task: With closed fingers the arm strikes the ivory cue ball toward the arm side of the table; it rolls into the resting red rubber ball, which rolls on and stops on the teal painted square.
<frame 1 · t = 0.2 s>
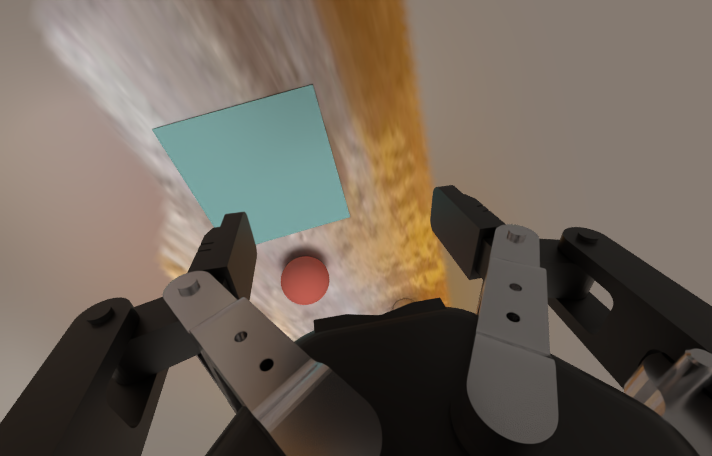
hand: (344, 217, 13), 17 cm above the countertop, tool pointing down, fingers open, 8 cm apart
ball b: (305, 280, 34), on the countertop
mark: (265, 178, 29), on the countertop
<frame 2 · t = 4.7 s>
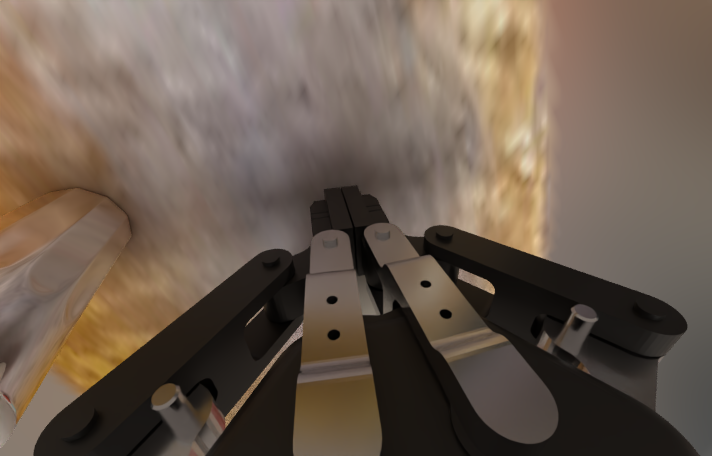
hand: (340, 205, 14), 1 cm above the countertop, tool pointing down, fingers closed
milkshake: (86, 225, 13), on the countertop
ball a: (357, 294, 14), on the countertop
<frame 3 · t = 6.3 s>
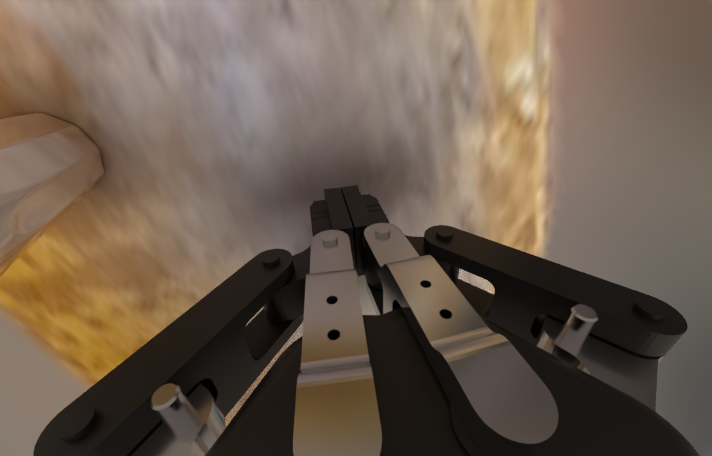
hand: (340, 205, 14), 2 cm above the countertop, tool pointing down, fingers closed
milkshake: (55, 160, 12), on the countertop
ball a: (353, 295, 15), on the countertop
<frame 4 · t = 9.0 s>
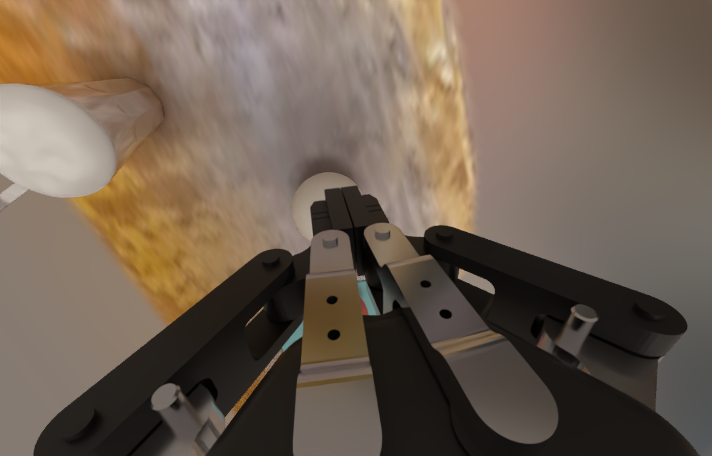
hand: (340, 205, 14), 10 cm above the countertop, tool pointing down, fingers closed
mark: (341, 328, 34), on the countertop
milkshake: (132, 110, 19), on the countertop
ball a: (329, 209, 22), on the countertop
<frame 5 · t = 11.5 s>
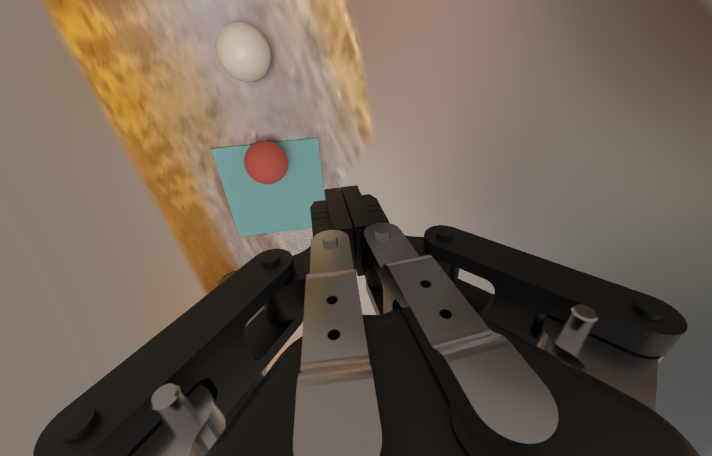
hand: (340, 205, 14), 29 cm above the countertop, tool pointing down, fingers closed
ball b: (266, 162, 38), on the countertop
mark: (276, 190, 43), on the countertop
ball a: (243, 53, 31), on the countertop
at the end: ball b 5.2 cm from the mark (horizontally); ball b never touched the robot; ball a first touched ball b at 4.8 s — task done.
